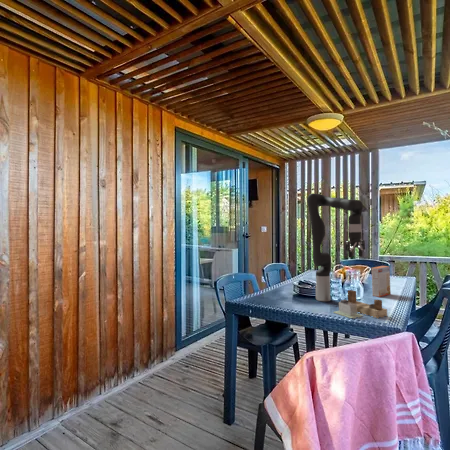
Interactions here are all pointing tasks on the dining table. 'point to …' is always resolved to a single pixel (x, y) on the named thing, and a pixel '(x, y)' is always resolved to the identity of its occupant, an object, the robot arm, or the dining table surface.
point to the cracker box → (381, 281)
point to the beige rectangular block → (347, 308)
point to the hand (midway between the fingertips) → (355, 257)
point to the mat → (347, 315)
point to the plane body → (367, 306)
